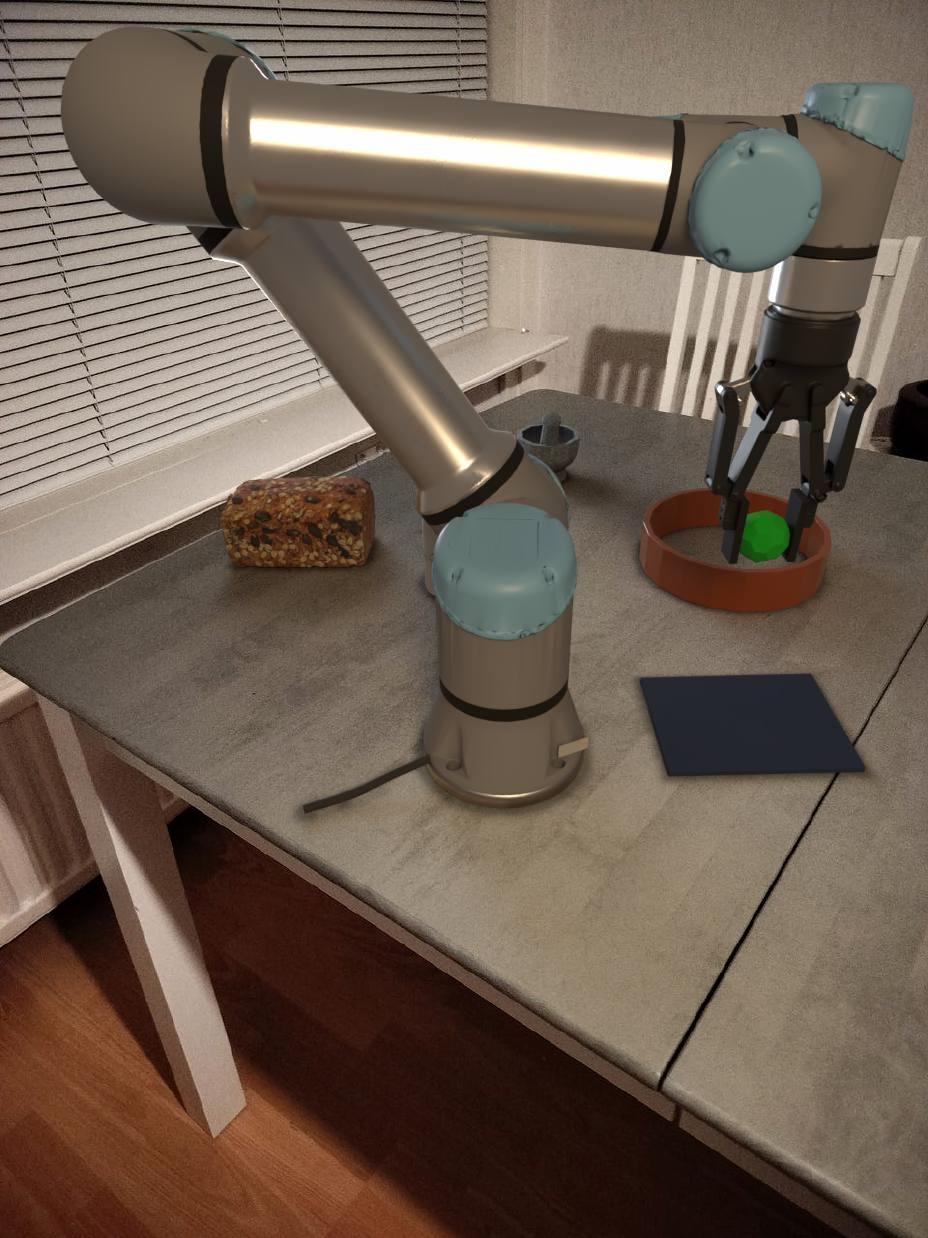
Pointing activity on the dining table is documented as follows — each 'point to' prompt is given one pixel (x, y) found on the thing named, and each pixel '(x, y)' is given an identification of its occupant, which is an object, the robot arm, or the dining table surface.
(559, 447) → the mortar and pestle
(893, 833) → the dining table surface
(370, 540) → the bread
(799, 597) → the orange bottomless ring
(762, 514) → the polyhedron
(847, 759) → the mat
